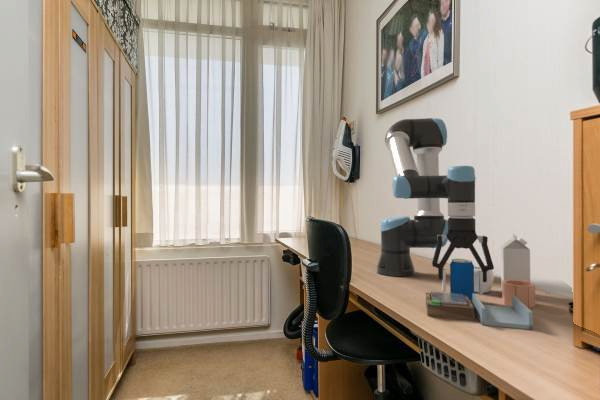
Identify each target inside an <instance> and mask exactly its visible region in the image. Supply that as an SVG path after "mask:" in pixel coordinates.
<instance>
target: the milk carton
mask: <svg viewBox="0 0 600 400" xmlns="http://www.w3.org/2000/svg"><path fill="white" fill-rule="evenodd" d="M517 238H518V236H517V235H516V234H515V233H512V237H511V238H510V239H508V240H507V241H506V242H503V244H501V245H500V257H501V258H500V272H501V273H500V274H501V275H500V276H501V277H500V279H501V280H500V281H501V283H500V284H501V291H502V281H504V280H520V281H526V282H531V249H530V248H529V247H528V246H526V245H527V244H528V241H526V240H525V239H523V238H520V239H519V240H518V239H517Z"/></svg>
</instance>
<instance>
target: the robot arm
mask: <svg viewBox="0 0 600 400" xmlns="http://www.w3.org/2000/svg"><path fill="white" fill-rule="evenodd" d="M384 136H385V137H384V143H385V147H386V149H387V150H388V151H389V154H390V157H391V160H392V164H393V168H394V172H395V175H396V176H394V177H393V180H392V185H391V186H392V194H393V197H394V198H395V199H417V212H416V213H414V215H413V217H414V218H413V219H411V218H410V216H409V215H407V216H394V217H389V218H384V219H383V220H382V221H381V224H380V257H379V260H378V263H377V266H376V273H377V274H381V275H384V276H389V277H390V276H391V277H410V276H413V275H414V274H415V267H414V263H413V260H412V257H411V249H413V248H415V249H419V248H421V249H422V248H423V249H435V251H434V254H433V258H432V262H431V266H432V267H433V268H436V269H438V270H437V271H438V272H437V273H438V274H437V275H438V276H437V277H438V279H439V280H441V282H442V283H441V287H442V288H441V289H442V292H444V293H447V292H446V290H447V289H446V288H447V287H446V286H447V285H446V284H447V283H446V280H447V279H446V276H447V275H446V273H447V271H446V268H445V266H446V264H447V262H448V260H449V258H450V257H451V255H452V253H453V251H455V249H469V251H470V252H471V254H472V256H473V258H474V259H475V261H476V263H477V264H478V266H480V268H481V270H478V292H479V293H478V294H479V295H483V294H484V293H483V282H486V281H487V271H488V270H492V271H493V270H494V268H495V267H494V262H493V260H492V259H493V258H492V257H491V253H490V250H489V249H490V248H489V246H488V240H489V238H488V237H487V236H486V235H478V234H477V232H476V219H475V218H474V217H475V216H476V178H477V177H476V174H475V173H476V172H475V167H473V166H471V165H455V166H449V167H448V168H447V174H446V175H440V172H439V170H440V166H439V165H440V164H439V161H440V160H439V154H440V153H441V152H442V151H443V147H445V146H446V144H447V142H448V129H447V126H446V123H445V122H444V120H442V119H441V118H436V117H435V118H432V117H430V118H429V117H428V118H408V119H407V118H404V119H400V120H399V121H397V122H395V123H393V124H392V125H391V126H390V127H389V129H388V130H387V132H386V134H385V135H384ZM411 148H412V149H411ZM412 152H413V153H414V155H416V162H415V159H414V155H413V153H412ZM441 199H447V216H449V218H448V219H446V218H445V215H444V213H442V212H441V211H440V210H441V208H440V205H441V203H440V200H441ZM477 240H478V242H479V243H480V244H481V248H482V251H483V256H484V258H485V259H484V260H485V262H486V265H485V263H484V262H483V259H482V257H480V255H479V253H478V252H477V250H476V247H475V246H474V243H475V242H476V241H477ZM448 241H449V243H450V244H449V246H448V248H447V250H446V251H445V253H444V255H443V256H442V258H441V260H440V261H439V258H440V253H441V250H442V248H444V247H446V245H447V243H448ZM438 262H439V263H438Z"/></svg>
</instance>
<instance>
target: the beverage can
mask: <svg viewBox="0 0 600 400" xmlns="http://www.w3.org/2000/svg"><path fill="white" fill-rule="evenodd" d="M474 266H475V265H474V264H473V260H470V259H465V258H452V259H451V262H450V263H449V278H450V281H449V283H450V284H449V285H450V286H449V288H450V289H449V290H450V292H449V293H455V294H463V295H466V296H467V297H468V298H469V300H470V302H471V303H472V293H475V292H474Z"/></svg>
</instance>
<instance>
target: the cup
mask: <svg viewBox="0 0 600 400" xmlns="http://www.w3.org/2000/svg"><path fill="white" fill-rule="evenodd" d="M501 295H502V296H501V300H502V303H504V304H505V305H507V306H510V307H512V296H516V297H517V298H518V299H519V300H520V301H521V302H522V303H523V304H524V305H525V306H526V307H527V308H529V309H530V308H534V307H535V308H536V284H534V283H533V282H531V281H530V282H526V281H520V280H504V281H502V290H501Z"/></svg>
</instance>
